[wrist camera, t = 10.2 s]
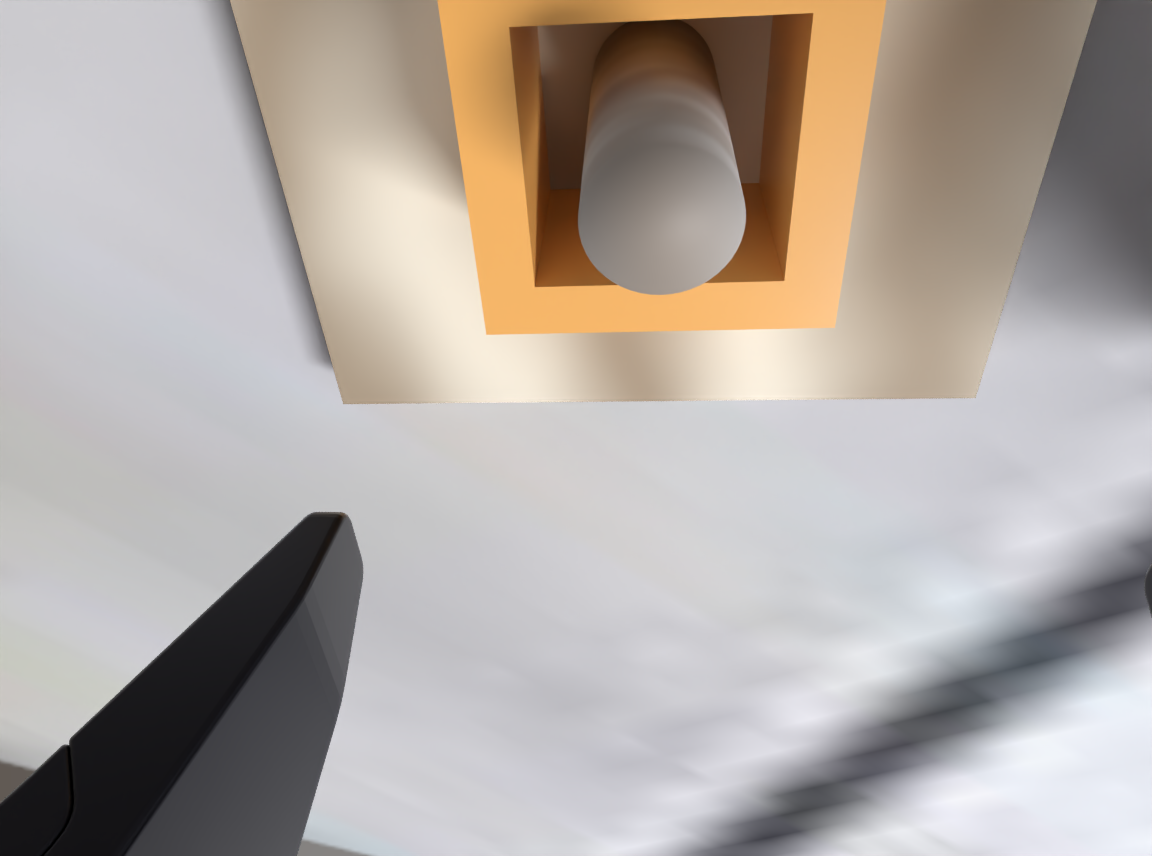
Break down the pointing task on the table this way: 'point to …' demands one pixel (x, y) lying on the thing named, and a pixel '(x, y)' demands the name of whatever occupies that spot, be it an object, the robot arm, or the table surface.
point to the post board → (424, 240)
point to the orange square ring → (773, 206)
